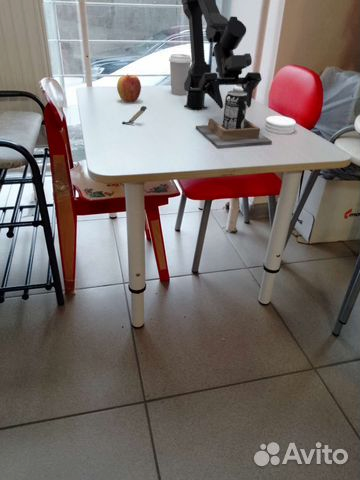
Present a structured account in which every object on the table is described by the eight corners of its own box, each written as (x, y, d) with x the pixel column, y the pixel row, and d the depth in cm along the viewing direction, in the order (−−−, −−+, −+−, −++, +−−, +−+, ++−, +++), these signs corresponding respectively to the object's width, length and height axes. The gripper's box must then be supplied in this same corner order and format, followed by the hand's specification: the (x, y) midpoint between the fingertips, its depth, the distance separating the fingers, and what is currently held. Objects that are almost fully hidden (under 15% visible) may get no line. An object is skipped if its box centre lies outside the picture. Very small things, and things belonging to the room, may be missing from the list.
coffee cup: (189, 96, 152) (192, 57, 143) (167, 95, 152) (168, 56, 143) (189, 91, 160) (191, 54, 151) (168, 90, 160) (169, 53, 151)
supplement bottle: (229, 106, 142) (232, 80, 136) (232, 103, 146) (236, 78, 140) (242, 109, 140) (246, 82, 135) (245, 105, 145) (249, 79, 139)
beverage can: (238, 129, 116) (244, 90, 109) (245, 136, 111) (251, 95, 104) (219, 129, 115) (223, 90, 108) (225, 136, 110) (230, 95, 103)
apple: (125, 105, 136) (124, 77, 130) (113, 100, 142) (111, 72, 136) (145, 102, 141) (145, 75, 135) (132, 97, 146) (132, 71, 141)
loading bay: (195, 128, 117) (196, 116, 115) (244, 125, 123) (246, 114, 120) (217, 148, 104) (218, 134, 101) (271, 144, 109) (274, 131, 106)
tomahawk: (140, 129, 117) (140, 126, 117) (121, 125, 118) (121, 122, 117) (158, 111, 134) (158, 108, 133) (141, 108, 135) (141, 105, 134)
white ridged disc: (299, 134, 118) (301, 124, 116) (271, 135, 117) (273, 124, 114) (285, 125, 126) (288, 115, 124) (259, 125, 124) (261, 115, 122)
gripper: (205, 41, 100) (217, 93, 98) (264, 42, 105) (276, 91, 103) (194, 67, 110) (204, 113, 108) (248, 66, 116) (258, 111, 114)
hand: (235, 107), depth 108 cm, fingers open, 9 cm apart
